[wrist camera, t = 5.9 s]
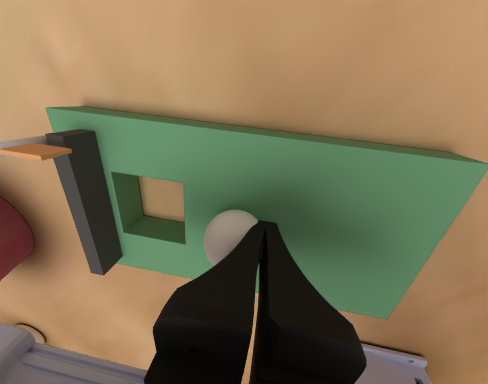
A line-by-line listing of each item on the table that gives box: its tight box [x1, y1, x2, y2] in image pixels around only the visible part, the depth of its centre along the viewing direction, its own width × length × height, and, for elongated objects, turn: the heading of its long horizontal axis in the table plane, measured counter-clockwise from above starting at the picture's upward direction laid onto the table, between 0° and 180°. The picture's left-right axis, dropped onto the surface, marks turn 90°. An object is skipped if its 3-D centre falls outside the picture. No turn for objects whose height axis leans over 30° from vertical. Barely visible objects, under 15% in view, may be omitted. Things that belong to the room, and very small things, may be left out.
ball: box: [203, 210, 264, 266], centre depth 11 cm, size 4×4×4 cm
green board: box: [0, 106, 488, 320], centre depth 12 cm, size 24×12×6 cm, turn 84°
